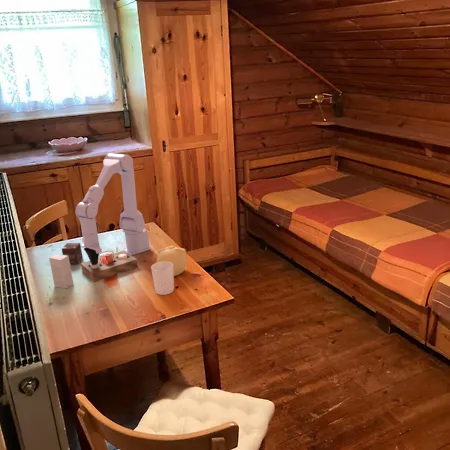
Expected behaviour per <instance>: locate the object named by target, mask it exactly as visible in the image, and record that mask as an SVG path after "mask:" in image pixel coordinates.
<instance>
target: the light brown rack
mask: <svg viewBox="0 0 450 450" xmlns="http://www.w3.org/2000/svg"><path fill="white" fill-rule="evenodd" d="M113 254H114V262H113V263H110V264H107V265H106V264H103V263H101V261H100V258H101V257H99V258H98V263H99V265H100V267H97V268H94V269H91V266H90V264H91V262H90V260H88V261H85V262H81V263H80V266H81V271H82V272H83V273H84V274H85V275H86V276H87V277H88V278H89V279H90V280H92V281H93V282H96V281H97V282H98V281H100V280H102V279H106V278H110V277H112V276H115V275H117V274H121V273H124V272H127V271H130V270H133V269H136V268H138V267H139V264H138V258H136V257H135V256H134V255H130V254H129V253H127V252H126V251H124V250H121V251H118V252H115V253H113ZM120 254H126V255H127V258H126V259H123V260H119V259H118V255H120Z"/></svg>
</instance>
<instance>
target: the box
mask: <svg viewBox="0 0 450 450" xmlns="http://www.w3.org/2000/svg"><path fill="white" fill-rule="evenodd" d="M81 245H82V244H81V243H80V242H68V243H65V245H64V246H63V247H62V248H61V253H62V255H67V256H69V262H70V265H79V263H80V262H81V261H82V260H83V251H82V247H81Z"/></svg>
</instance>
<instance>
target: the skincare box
mask: <svg viewBox="0 0 450 450" xmlns="http://www.w3.org/2000/svg"><path fill="white" fill-rule="evenodd" d="M49 264H50V269H51V270H50V271H51V274H52V278H53V279H52V280H53V285H54V287H56V288H57V287H58V288H62V289H68V288H70V287H72V286H73V285H74V278H73V273H72V268H71V264H70V262H69V256H67V255H63V254H59V253H56V254H54V255H52V256H50V257H49Z"/></svg>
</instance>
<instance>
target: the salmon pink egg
mask: <svg viewBox="0 0 450 450" xmlns="http://www.w3.org/2000/svg"><path fill="white" fill-rule="evenodd" d="M110 253H111V254H110V255H108V256H105V257H106V260H107V261H108V264H110V263H113V262H114V261H113V254H114V253H112V252H110Z"/></svg>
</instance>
